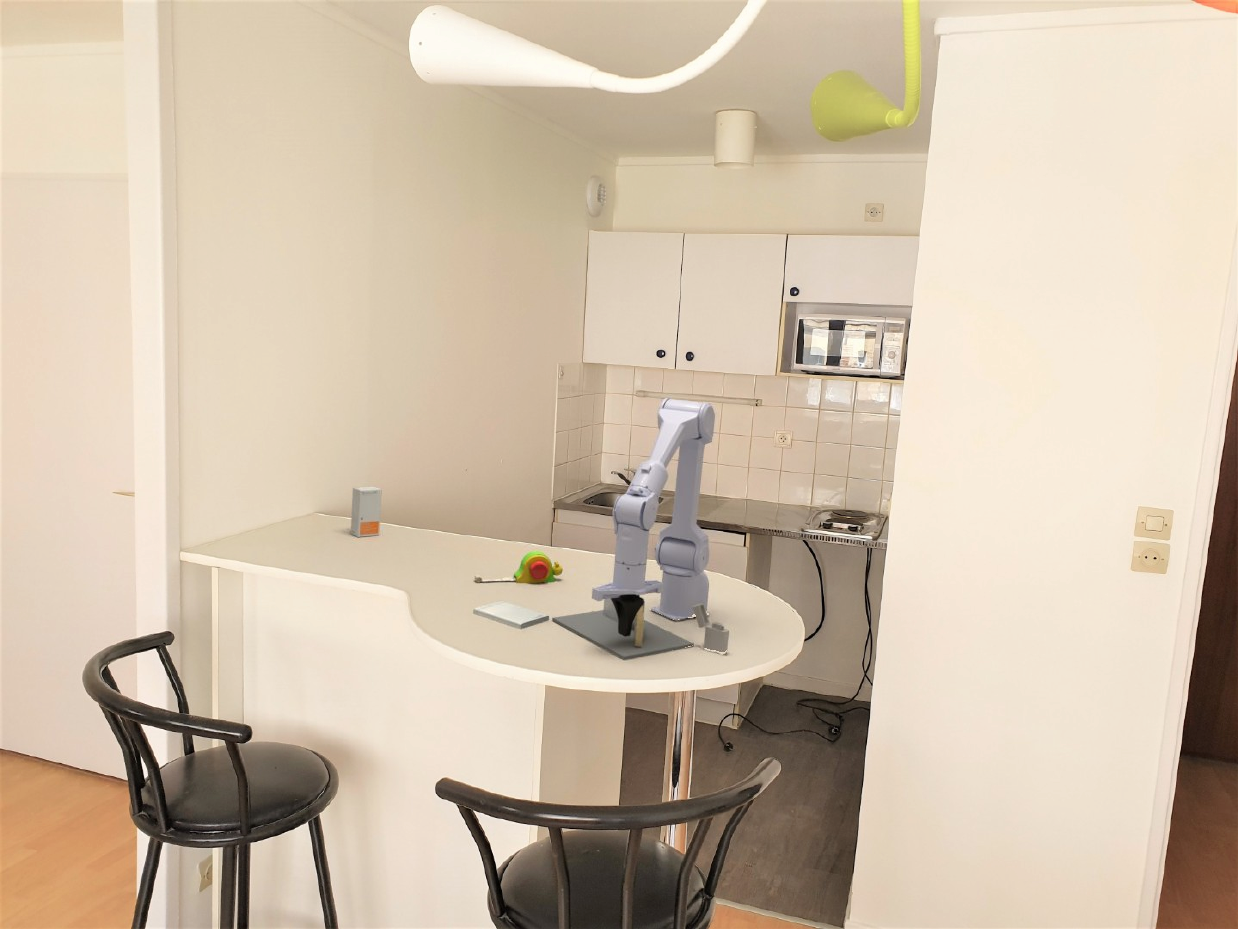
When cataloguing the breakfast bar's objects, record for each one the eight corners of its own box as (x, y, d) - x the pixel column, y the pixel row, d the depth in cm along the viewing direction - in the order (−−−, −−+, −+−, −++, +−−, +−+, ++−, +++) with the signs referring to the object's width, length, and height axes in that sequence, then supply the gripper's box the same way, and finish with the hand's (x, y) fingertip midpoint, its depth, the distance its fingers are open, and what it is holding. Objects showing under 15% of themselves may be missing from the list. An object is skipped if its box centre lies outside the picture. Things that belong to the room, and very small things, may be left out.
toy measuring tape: (565, 584, 205) (567, 555, 204) (477, 586, 199) (479, 556, 198) (558, 576, 211) (559, 548, 210) (472, 577, 205) (474, 548, 204)
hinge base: (618, 610, 189) (620, 583, 188) (693, 646, 171) (695, 617, 170) (552, 620, 180) (554, 592, 179) (623, 660, 162) (626, 629, 161)
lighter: (727, 652, 169) (731, 610, 168) (722, 655, 168) (726, 612, 167) (694, 642, 173) (697, 601, 172) (689, 645, 172) (692, 603, 171)
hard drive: (549, 615, 180) (502, 599, 187) (520, 624, 173) (473, 607, 180) (549, 623, 180) (502, 607, 187) (520, 632, 173) (472, 615, 181)
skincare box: (357, 537, 232) (359, 490, 230) (350, 534, 235) (351, 487, 233) (380, 535, 236) (382, 489, 234) (372, 531, 239) (374, 486, 237)
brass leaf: (631, 626, 177) (634, 599, 176) (642, 626, 177) (644, 600, 176) (632, 646, 166) (635, 617, 166) (644, 646, 166) (646, 618, 166)
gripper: (611, 570, 159) (604, 647, 161) (676, 563, 168) (669, 636, 170) (587, 560, 165) (581, 634, 167) (651, 554, 173) (645, 624, 175)
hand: (624, 634), depth 168 cm, fingers closed
